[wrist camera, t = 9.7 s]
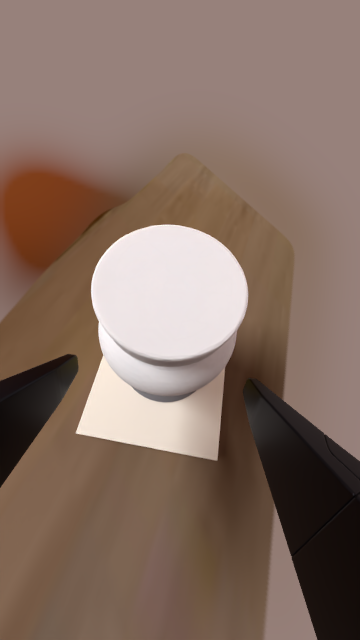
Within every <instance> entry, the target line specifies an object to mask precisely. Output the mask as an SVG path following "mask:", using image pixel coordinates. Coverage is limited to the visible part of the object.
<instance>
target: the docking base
mask: <svg viewBox="0 0 360 640" xmlns="http://www.w3.org/2000/svg"><path fill="white" fill-rule="evenodd" d="M224 375H225V368H224V369H223V370H222V371H221V372H220V374H219V375H218V376H217V377H216V378H215V379H213V380H212V381H211V382H210V383H208V384H207V385H205V386H204V387H202V388H200V389H198V390H196V391H193V392H190V393H187V394H183V395H177V396H159V395H153V394H148V393H145V392H142V391H140V390H138V389H136V388H134V387H132V386H130V385H129V384H127V383H126V382H124V381H123V380H122V379H121V378H120V377H119V376H118V375H117V374H116V373H115V372H114V371H113V370H112V368H111V367H110V366H109V364H108V362H107V361H106V359H105V357H104V355H103V358H102V361H101V364H100V366H99V369H98V372H97V375H96V378H95V381H94V383H93V386H92V389H91V392H90V395H89V398H88V400H87V403H86V406H85V409H84V412H83V414H82V417H81V420H80V423H79V426H78V429H77V431H76V433H77V434H82V435H87V436H93V437H98V438H103V439H108V440H113V441H118V442H123V443H128V444H134V445H139V446H144V447H149V448H154V449H159V450H164V451H170V452H175V453H180V454H185V455H190V456H195V457H200V458H206V459H211V460H216V461H217V459H218V447H219V435H220V423H221V411H222V399H223V387H224Z"/></svg>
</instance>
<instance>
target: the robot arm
mask: <svg viewBox="0 0 360 640" xmlns="http://www.w3.org/2000/svg"><path fill="white" fill-rule="evenodd" d="M77 372H78V358H77V356H76V355H72V354H67V355H64V356H62V357H59V358H57V359H54V360H52V361H49V362H47V363H44V364H42V365H39V366H37V367H34V368H32V369H29V370H27V371H24V372H22V373H19V374H17V375H14V376H11V377H9V378H6V379H4V380H1V381H0V487H1V486H2V484H3V483H4V482H5V480H6V479H7V477H8V476H9V475H10V473H11V472H12V470H13V469H14V467H15V466H16V465H17V463H18V462H19V460H20V459H21V457H22V456H23V455H24V453H25V452H26V450H27V449H28V448H29V446H30V445H31V443H32V442H33V440H34V439H35V438H36V436H37V435H38V433H39V432H40V430H41V429H42V428H43V426H44V425H45V423H46V422H47V421H48V419H49V418H50V416H51V415H52V413H53V412H54V411H55V409H56V408H57V406H58V405H59V403H60V402H61V400H62V399H63V397H64V395H65V394H66V392H67V390H68V388H69V387H70V385H71V383H72V381H73V380H74V378H75V376H76V374H77ZM243 396H244V401H245V405H246V410H247V415H248V420H249V424H250V427H251V430H252V433H253V437H254V440H255V443H256V446H257V449H258V452H259V456H260V459H261V462H262V465H263V468H264V471H265V475H266V478H267V481H268V484H269V487H270V490H271V494H272V497H273V500H274V503H275V506H276V509H277V513H278V516H279V519H280V522H281V525H282V528H283V532H284V534H285V538H286V541H287V544H288V547H289V551H290V554H291V556H292V561H293V563H294V567H295V570H296V573H297V576H298V580H299V583H300V586H301V589H302V592H303V595H304V598H305V602H306V605H307V608H308V611H309V614H310V617H311V621H312V624H313V627H314V630H315V633H316V636H317V640H360V461H359V460H357V459H356V458H355V457H353V456H352V455H351V454H349V453H348V452H347V451H346V450H344V449H343V448H342V447H340V446H339V445H338V444H337V443H335V442H334V441H333V440H332V439H330V438H329V437H328V436H327V435H324V433H323V432H322V431H320V430H319V429H318V428H317V427H315V426H314V425H313V424H312V423H310V422H309V421H308V420H307V419H305V418H304V417H303V416H302V415H301V414H299V413H298V412H297V411H296V410H294V409H293V408H292V407H291V406H289V405H288V404H287V403H286V402H284V401H283V400H282V399H281V398H279V397H278V396H277V395H276V394H274V393H273V392H272V391H271V390H269V389H268V388H267V387H266V386H264V385H263V384H262V383H261V382H259V381H258V380H257V379H254V378H248V379H247V381H246V384H245V386H244V389H243Z"/></svg>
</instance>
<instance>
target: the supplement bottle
mask: <svg viewBox="0 0 360 640" xmlns="http://www.w3.org/2000/svg"><path fill="white" fill-rule="evenodd" d="M91 295H92V302H93V308H94V310H95V313H96V316H97V318H98V320H99V329H98V330H99V341H100V345H101V349H102V352H103V354H104V357H105V359H106V361H107V362H108V364H109V366H110V367H111V368H112V370H113V371H114V372H115V373H116V374H117V375H118V376H119V377H120V378H121V379H122V380H123V381H124V382H126V383H127V384H129V385H130V386H132V387H134V388H136V389H138V390H140V391H142V392H145V393H148V394H153V395H159V396H177V395H183V394H187V393H190V392H193V391H196V390H198V389H200V388H202V387H204V386H205V385H207V384H208V383H210V382H211V381H212V380H213V379H215V378H216V377H217V376H218V375H219V374H220V372H221V371H222V370H223V369H224V368H225V366H226V364H227V363H228V361H229V359H230V357H231V355H232V353H233V350H234V347H235V343H236V336H237V330H238V328H239V326H240V325H241V323H242V321H243V318H244V316H245V313H246V309H247V304H248V286H247V281H246V278H245V275H244V272H243V270H242V268H241V266H240V265H239V263H238V261H237V260H236V258H235V257H234V256H233V254H232V253H231V252H230V251H229V250H228V249H227V248H226V247H225V246H224V245H223V244H222V243H220V242H219V241H217V240H216V239H214V238H213V237H211V236H209V235H207V234H205V233H203V232H201V231H198V230H195V229H192V228H188V227H184V226H179V225H156V226H150V227H147V228H143V229H139V230H136V231H134V232H132V233H129V234H127V235H125V236H124V237H122V238H120V239H119V240H117V241H116V242H115V243H114V244H113V245H112V246H111V247H110V248H109V249H108V250H107V251H106V252H105V253H104V255H103V256H102V257H101V259H100V261H99V262H98V264H97V266H96V269H95V272H94V275H93V278H92V286H91Z"/></svg>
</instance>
